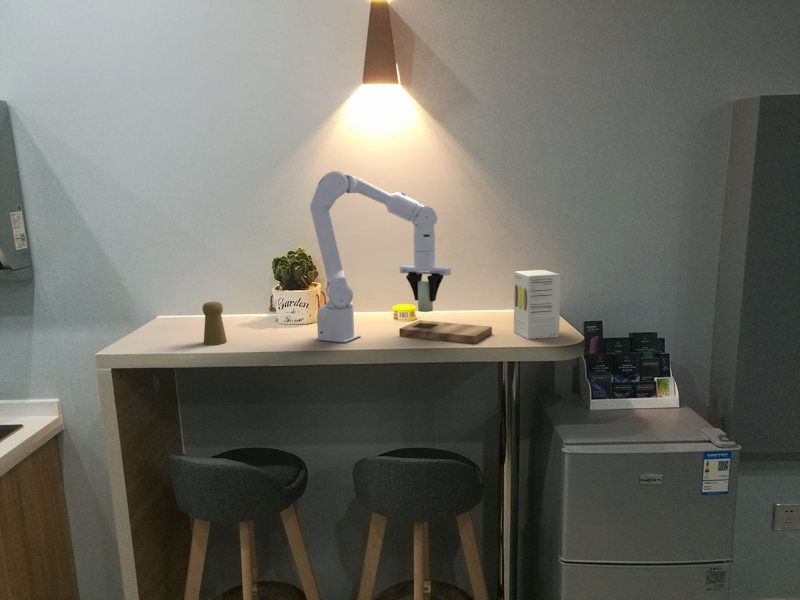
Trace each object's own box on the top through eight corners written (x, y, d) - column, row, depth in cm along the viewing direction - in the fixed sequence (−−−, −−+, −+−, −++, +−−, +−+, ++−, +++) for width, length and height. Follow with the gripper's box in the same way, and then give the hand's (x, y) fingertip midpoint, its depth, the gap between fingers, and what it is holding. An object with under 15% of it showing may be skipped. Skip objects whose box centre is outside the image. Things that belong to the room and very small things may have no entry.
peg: (415, 311, 174) (415, 282, 173) (422, 308, 178) (421, 280, 176) (428, 312, 173) (428, 283, 171) (435, 309, 176) (434, 280, 175)
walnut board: (399, 335, 174) (399, 328, 173) (419, 326, 184) (419, 320, 184) (475, 343, 163) (475, 336, 163) (491, 333, 173) (491, 326, 173)
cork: (199, 342, 171) (196, 302, 169) (219, 338, 175) (216, 299, 174) (210, 346, 167) (207, 305, 165) (231, 342, 171) (228, 301, 169)
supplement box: (512, 332, 175) (513, 270, 172) (543, 329, 177) (544, 269, 174) (528, 339, 166) (528, 275, 163) (560, 337, 168) (561, 273, 165)
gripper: (455, 249, 172) (455, 299, 175) (407, 248, 179) (408, 296, 182) (444, 252, 166) (444, 304, 169) (395, 251, 173) (396, 300, 176)
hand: (425, 300), depth 175 cm, fingers closed on peg, 4 cm apart
